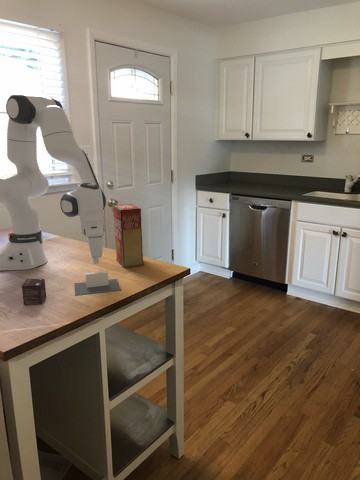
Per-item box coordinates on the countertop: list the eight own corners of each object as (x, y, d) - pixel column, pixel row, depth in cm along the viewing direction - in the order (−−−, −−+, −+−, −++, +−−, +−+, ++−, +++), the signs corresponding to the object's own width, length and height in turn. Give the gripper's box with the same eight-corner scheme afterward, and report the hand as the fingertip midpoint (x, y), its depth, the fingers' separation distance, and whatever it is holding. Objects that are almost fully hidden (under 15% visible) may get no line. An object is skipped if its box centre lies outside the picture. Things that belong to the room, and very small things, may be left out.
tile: (86, 287, 141) (85, 274, 140) (86, 285, 143) (85, 273, 142) (108, 285, 143) (107, 272, 142) (108, 283, 145) (107, 270, 144)
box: (29, 298, 133) (26, 278, 131) (46, 298, 133) (44, 278, 132) (23, 306, 127) (21, 285, 125) (42, 305, 128) (40, 284, 126)
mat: (75, 296, 135) (75, 295, 135) (74, 284, 146) (74, 283, 146) (121, 291, 139) (121, 290, 139) (117, 279, 150) (116, 278, 150)
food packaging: (115, 259, 175) (112, 204, 168) (135, 256, 178) (133, 203, 172) (123, 268, 163) (120, 209, 157) (144, 265, 167) (142, 208, 160)
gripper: (82, 222, 153) (86, 256, 156) (85, 234, 134) (89, 271, 137) (99, 221, 154) (101, 254, 158) (104, 232, 135) (107, 269, 139)
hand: (96, 262), depth 147 cm, fingers closed
